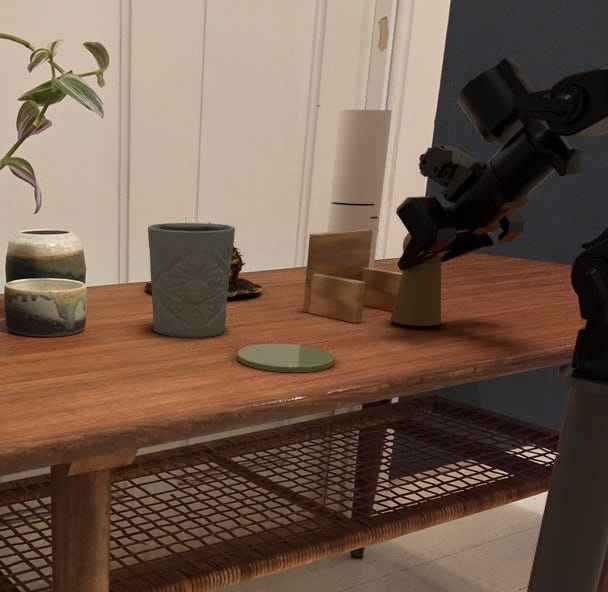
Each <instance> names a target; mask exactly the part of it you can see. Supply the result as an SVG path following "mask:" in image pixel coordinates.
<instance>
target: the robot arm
mask: <svg viewBox="0 0 608 592" xmlns="http://www.w3.org/2000/svg"><path fill="white" fill-rule="evenodd" d="M457 103H458V106H459V107H460V108H461V110H462V111H463V112H464V114H465V115H466V116H467V118H468V119H469V121H470V123H471V124H472V125H473V127H474V128H475V129H476V131H477V133H478V134H479V135H480V137H481V138H482V140H483V141H484V143H494V142H497V143H498V144H504V145H503V146H501V148H500V149H499V150H498V151H496V152H495V153H494V154H493V156H492V157H490V158H489V159H488V160H487V161H478V160H477V159H475V158H474V157H473V156H471V155H469V154H467V153H466V152H465V151H463V150H461V149H459V148H457V147H455V146H453V145H444V144H434V145H433V146H431V147H428V148H427V149H426V151H425V152H424V153H422V154H420V155H419V158H418V159H419V163H418V168H419V174H420V175H421V176H423V177H424V178H427V177H428V178H429V179H430V180H432V181H433V182H435V183H436V184H438V185H440V186H441V187H443V190H442V191H441V192H440V194H441V195H442V197H443V198H444V200H445V201H446V202H449V203H450V204H448V205H447V206H442V204H441V203H440V201H439V200H438V198H437V197H436V196H429V195H421V196H407V197H406V198H405V199H404V200H403V201H402V202H401V203H400V204H399V205H398V206H397V207H396V209H395V213H396V215H397V216H398V218H399V220H400V221H401V222H402V225H403V226H404V228H405V229H406V231H407V233H410V235H411V238H410V241H409V242H408V244H407V246H406V248H405V250H404V252H402V254H401V256H400V258H399V260H398V262H397V268H399V270H400V272H403V271H405V270H407V269H410V268H412V267H415V266H417V265H419V264H422V263H424V262H426V261H429V260H431V259H433V258H436V257H438V256H441V255H443V254H445V255H444V256H443V257H442V258H441V264H443V263H447V262H448V261H449V262H450V261H451V260H454V259H457V258H460V257H463V256H466V255H470V254H473V253H475V252H478V251H481V250H484V249H488V248H491V247H493V246H494V245H495V243H494V240H493V239H492V238H491V236H490V234H491V233H494V232H497V230H498V229H501V230H502V231H501V232H500V233H499V234H498V235H497V238H496V241H497V242H498V243H499V244H507V243H512V242H513V241H514V240H515V239H517V238H518V237H519V236H520V235H521V234H522V233H524V227H525V219H524V218H523V216H522V215H521V213H520V212H519V210H518V209H517V208H523V207H524V206H525V205H527V204H528V203H529V202H530V200H529V198H528V197H527V196H529V194H530V193H531V192H533V191H534V190H535V189H536V188H537V187H538V186H540V185H541V184H542V183H543V182H544V181H545V180H547V179H548V177H549V176H551V175H552V174H553V173H554V172H556V173H557V174H558V176H559V177H578V176H580V175H581V174H582V171H583V162H582V161H583V155H584V153H585V150H584V148H572V147H571V146H570V144H569V143H568V141H567V140H566V139H565V137H601V136H603V135H606V134H607V133H608V66H606V67H605V66H604V67H599V68H595V69H590V70H586V71H581V72H577V73H576V72H575V73H572V74H569V75H565V76H563V77H562V78H560V79H558V80H557V81H556V82H555V83H554V84H553V85H552V86H551V88H550V89H545V90H540V91H537V90H536V89H535V88H534V86H533V85H532V83H531V82H530V81H529V80H528V78H527V77H526V75H525V73H524V72H523V69H522V66H521V65H520V63H519V62H518V61H517V59H515V58H507V57H503V58H502V59H501V60H500V61H499V62H498V63H497V64H496V65H495V66H492V67H491V68H488V69H486V70H484V71H482V72H481V73H480V74H479V75H477V76H476V77H475V78H471V79H470V80H469V81H468V82H467V83H466V84H465V85H464V86H463V87H462V89H461V90H460V91H459V93H458V96H457ZM544 122H545V123H546V125H545V123H544ZM580 248H582V249H584V251H582V252H581V253H580V254H578V255H577V257H576V258H575V259H574V261H573V262H572V264H571V272H570V282H571V283H570V284H571V286H572V288H573V289H572V290H573V291H574V293H575V294H576V295H577V300H578V307H579V314H580V319H582V320H584V321H585V325H583V326H582V327H581V328H579V329H578V330H577V334H576V339H575V344H574V348H573V354H572V359H571V363H570V364H571V366H572V368H575V369H574V370H573V371H572V375H571V376H574V377H579V378H586V379H592V380H598V381H605V382H608V226H607V227H606V228H605V229H604V230H603V231H602V232H601V233H600V235H598V236H597V237H596V238H594V239H592V240H591V241H588V242H585V243H582V244H581V245H580Z"/></svg>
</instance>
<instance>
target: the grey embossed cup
mask: <svg viewBox="0 0 608 592" xmlns="http://www.w3.org/2000/svg"><path fill="white" fill-rule="evenodd" d="M208 223H209V222H208ZM208 223H205V222H170V223H169V222H168V223H167V222H166V223H156V224H151V225H149V226H148V227H147V239H148V249H149V269H150V270H149V271H150V272H149V273H150V283H152V292H151V302H152V323H153V330H154V332H156V333H157V334H161V335H163V336H164V335H165V336H171V337H177V338H209V337H214V336H219V335H221V334H223V333H224V332H225V329H226V323H227V303H228V297H227V296H228V289H229V277H230V266H231V259H232V253H233V246H234V243H235V234H236V227H235V226H232V225H229V224H220V223H211V224H208Z"/></svg>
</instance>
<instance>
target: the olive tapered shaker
mask: <svg viewBox="0 0 608 592" xmlns="http://www.w3.org/2000/svg"><path fill="white" fill-rule="evenodd" d="M410 238H411V235H410V233H409V232H407V234H406V235H405V236H404V239H403V241H402V251H403V252H404V250H405V248H406V246H407V244H408V242H409V241H410ZM403 252H402V253H403ZM444 255H445V254H443V255H441V256H438V257H436V258H433V259H431V260H429V261H426V262H424V263H422V264H419V265H417V266H415V267H412V268H410V269H407V270H405V271H402V272H401V273H402V277H401V281H400V285H399V289H398V293H397V297H396V301H395V305H394V308H393V311H391V312H392V314H391V317H390V321H391V322H393V323H396V324H400V325H404V326H405V325H406V326H415V327H416V326H417V327H432V326H438V325H441V323H442V263H441V258H442V257H443V256H444Z"/></svg>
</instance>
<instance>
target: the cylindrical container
mask: <svg viewBox="0 0 608 592" xmlns="http://www.w3.org/2000/svg"><path fill="white" fill-rule="evenodd" d="M392 113H393V110H392V109H339V110H338V117H337V129H336V139H335V149H334V159H333V160H334V161H333V171H332V181H331V192H330V203H329V214H328V223H327V232H338V231H349V230H360V229H370V230H373V232H372V241H371V250H370V258H369V268H374V267H375V259H376V250H377V242H378V233H379V223H380V215H381V208H382V207H381V206H382V199H383V190H384V181H385V172H386V164H387V155H388V147H389V138H390V131H391V121H392Z"/></svg>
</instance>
